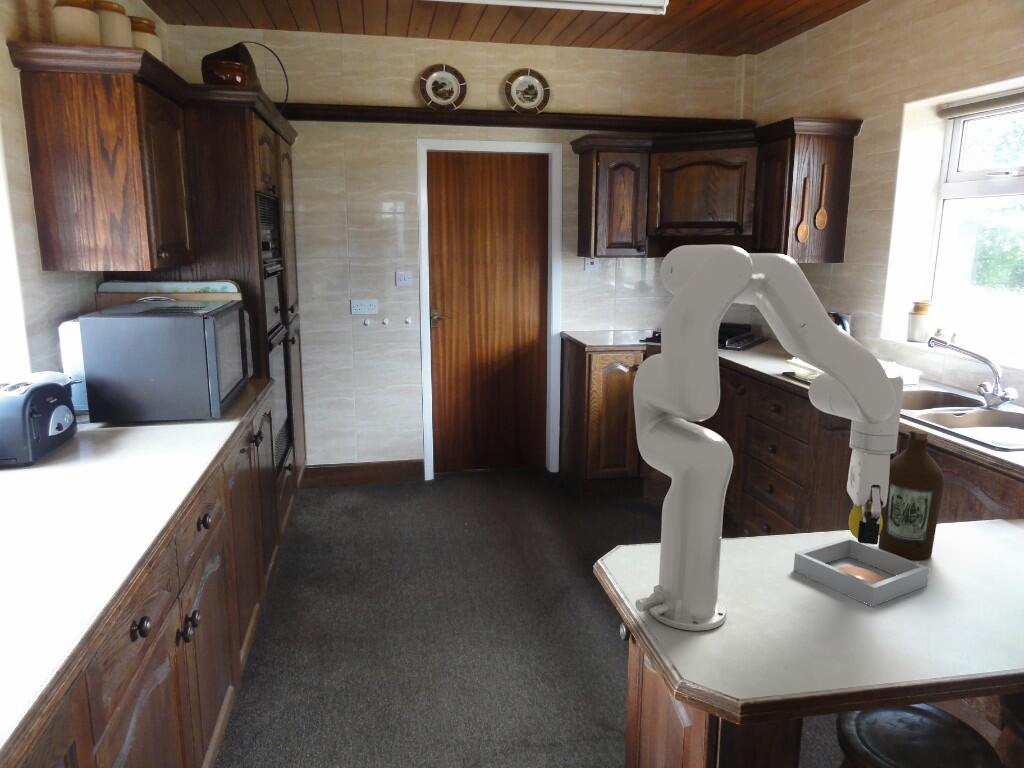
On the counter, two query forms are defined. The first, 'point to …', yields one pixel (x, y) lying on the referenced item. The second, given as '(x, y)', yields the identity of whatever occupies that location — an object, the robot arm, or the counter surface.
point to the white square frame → (861, 571)
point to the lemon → (859, 519)
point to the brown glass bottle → (912, 501)
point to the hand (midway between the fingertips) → (863, 535)
